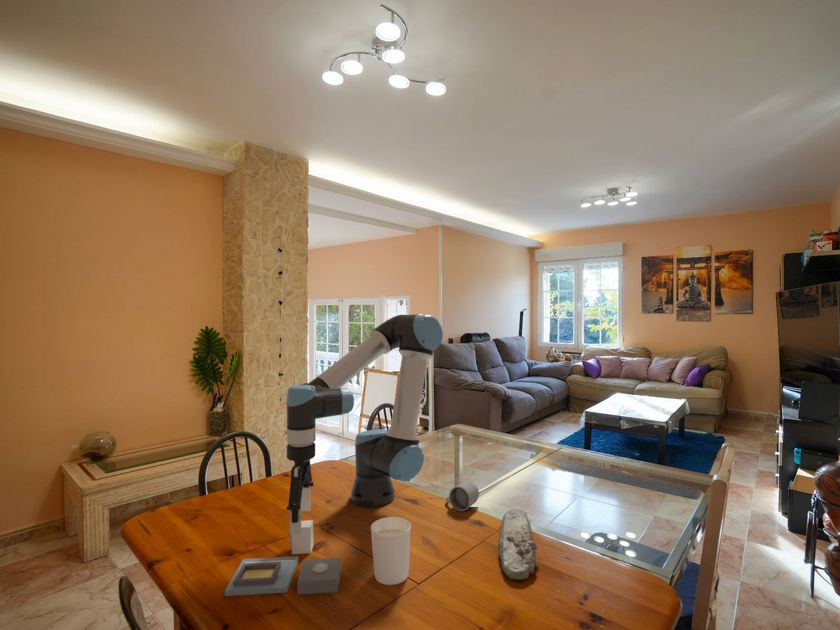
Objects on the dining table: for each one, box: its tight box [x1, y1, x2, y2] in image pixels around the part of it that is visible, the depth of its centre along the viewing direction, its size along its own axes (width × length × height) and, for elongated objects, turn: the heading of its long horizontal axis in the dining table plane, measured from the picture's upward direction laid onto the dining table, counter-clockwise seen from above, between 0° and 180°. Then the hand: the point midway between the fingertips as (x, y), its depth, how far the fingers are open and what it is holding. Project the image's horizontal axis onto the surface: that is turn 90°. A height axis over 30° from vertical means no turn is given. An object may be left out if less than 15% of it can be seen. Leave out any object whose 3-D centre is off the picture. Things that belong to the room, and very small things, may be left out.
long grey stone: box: [497, 508, 538, 581], centre depth 121 cm, size 35×5×10 cm
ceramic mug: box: [445, 481, 480, 512], centre depth 146 cm, size 11×8×8 cm
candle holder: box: [370, 516, 412, 586], centre depth 107 cm, size 10×10×12 cm
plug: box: [289, 519, 314, 555], centre depth 120 cm, size 6×4×7 cm
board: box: [224, 555, 300, 597], centre depth 107 cm, size 14×13×2 cm
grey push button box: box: [296, 557, 342, 595], centre depth 105 cm, size 9×9×3 cm
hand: (300, 521), depth 119 cm, fingers open, 13 cm apart
